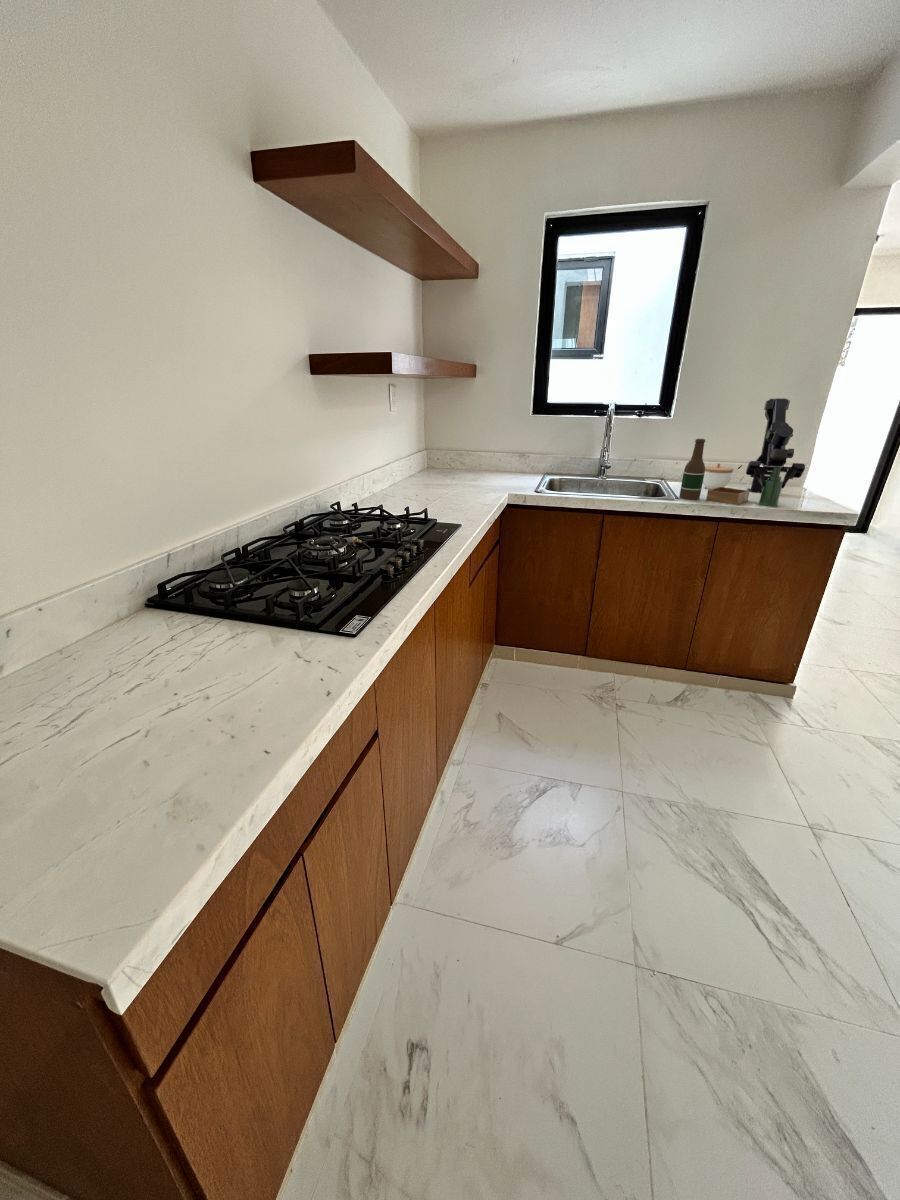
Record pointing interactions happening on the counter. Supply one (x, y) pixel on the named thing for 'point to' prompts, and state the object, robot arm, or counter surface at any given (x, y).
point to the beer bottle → (694, 474)
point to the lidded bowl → (716, 476)
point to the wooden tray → (728, 495)
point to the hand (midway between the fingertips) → (773, 487)
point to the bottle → (772, 489)
